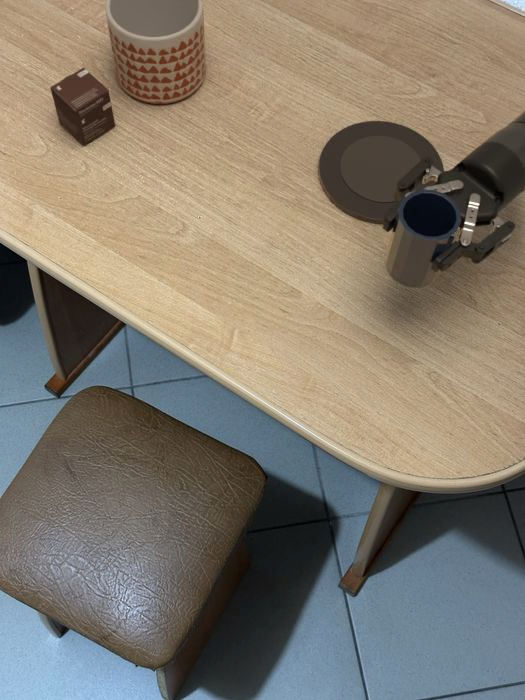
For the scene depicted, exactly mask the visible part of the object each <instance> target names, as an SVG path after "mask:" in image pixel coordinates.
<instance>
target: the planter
mask: <svg viewBox="0 0 525 700" xmlns="http://www.w3.org/2000/svg"><path fill="white" fill-rule="evenodd" d="M104 7H105V9H104V10H105V16H106V23H107V28H108V34H109V35H108V36H109V41H110V47H111V52H112V53H111V54H112V59H113V64H114V70H115V76H116V80H117V82H118V84H119V86H120V87H121V89H122V90H123V91H124V92H125V93H126V94H127V95H129V96H130V97H132V98H134V99H135V100H137V101H140V102H143V103H147V104H150V105H151V104H152V105H170V104H173V103H177V102H181V101H183V100H185V99H187V98H189V97H190V96H192V95H193V94H194V93H196V92H197V90H198V89H199V88H200V87H201V86H202V84H203V83H204V80H205V76H206V69H207V66H206V65H207V64H206V44H205V43H206V42H205V16H204V12H205V11H204V1H203V0H105V4H104Z"/></svg>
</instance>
